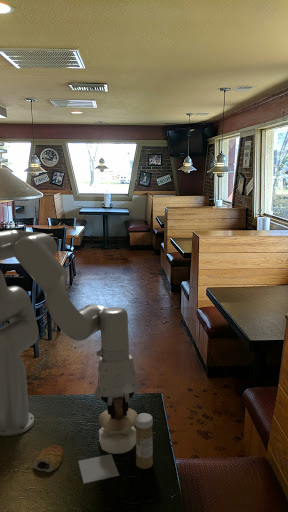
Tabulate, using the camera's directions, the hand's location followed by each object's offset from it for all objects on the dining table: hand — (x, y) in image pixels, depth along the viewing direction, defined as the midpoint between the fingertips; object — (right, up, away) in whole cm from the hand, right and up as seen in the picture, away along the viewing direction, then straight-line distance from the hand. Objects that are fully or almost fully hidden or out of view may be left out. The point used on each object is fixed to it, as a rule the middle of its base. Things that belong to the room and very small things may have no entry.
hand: (118, 414), depth 116 cm
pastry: (-18, -11, -6) cm, 22 cm away
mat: (-5, -11, -9) cm, 15 cm away
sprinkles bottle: (+7, -10, -8) cm, 15 cm away
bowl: (0, -9, +1) cm, 9 cm away
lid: (0, -2, 0) cm, 2 cm away
